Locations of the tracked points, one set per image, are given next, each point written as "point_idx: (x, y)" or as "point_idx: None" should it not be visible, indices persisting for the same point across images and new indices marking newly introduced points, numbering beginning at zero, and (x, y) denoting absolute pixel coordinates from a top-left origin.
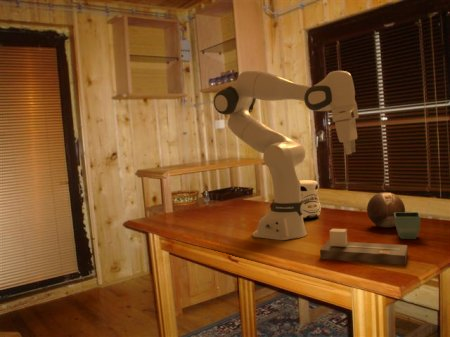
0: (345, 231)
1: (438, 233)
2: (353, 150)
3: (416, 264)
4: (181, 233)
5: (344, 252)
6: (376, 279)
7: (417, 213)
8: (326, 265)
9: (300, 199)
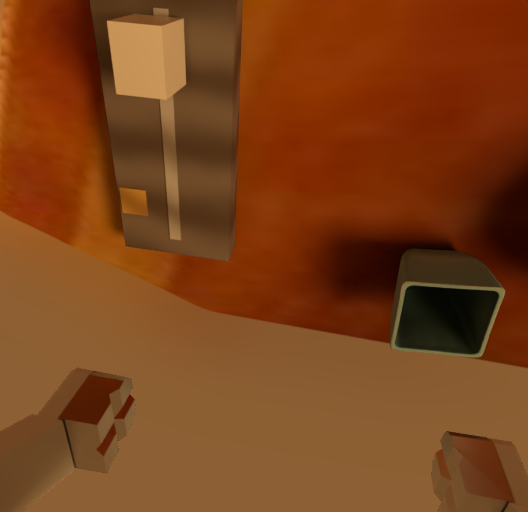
0: (135, 95)
1: None
2: (439, 483)
3: (152, 254)
4: None
5: (102, 77)
6: (5, 164)
7: (473, 352)
8: (43, 10)
9: None
